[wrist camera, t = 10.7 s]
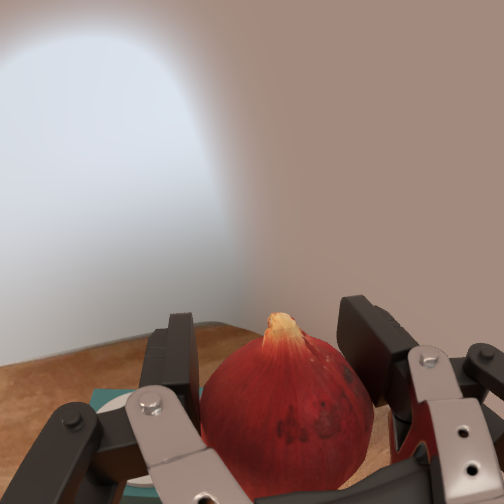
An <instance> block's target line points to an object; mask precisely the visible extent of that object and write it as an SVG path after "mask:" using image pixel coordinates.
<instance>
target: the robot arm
mask: <svg viewBox="0 0 504 504" xmlns="http://www.w3.org/2000/svg"><path fill="white" fill-rule="evenodd" d="M337 343H338V347H339V349H340V350H341V352H342V354H343V355H344V357H345V359H346V360H347V361H348V363H349V364H350V366H351V367H352V368H353V370H354V371H355V373H356V374H357V376H358V377H359V378H360V380H361V382H362V383H363V385H364V386H365V388H366V390H367V392H368V394H369V396H370V398H371V400H372V402H373V404H374V406H375V407H376V408H377V407H381V406H384V405H387V404H388V405H389V406H390V411H389V413H388V426H389V439H390V455H391V461H390V465H389V466H386V467H383V468H380V469H379V470H377V471H376V472H374V473H372V474H371V475H369V476H367V477H366V478H364V479H362V480H361V481H359V482H357V483H356V484H354V485H352V486H350V487H348V488H346V489H343V490H327V491H296V492H290V493H285V494H279V495H273V496H267V497H260V498H254V504H504V482H503V478H502V474H501V471H503V472H504V420H503V419H502V418H501V417H499V416H498V415H497V414H496V413H494V412H493V411H492V410H491V409H489V408H488V407H487V406H486V405H484V404H483V402H484V400H485V398H486V396H487V395H488V393H489V391H491V392H492V393H494V394H495V395H496V396H498V397H499V398H500V399H502V400H503V401H504V353H503V352H501V351H500V350H498V349H497V348H495V347H494V346H492V345H489V344H485V343H476V344H473V345H472V346H470V348H469V350H468V352H467V355H466V357H462V358H448V356H447V355H446V354H445V352H443V351H442V350H440V349H439V348H436V347H433V346H429V345H421V346H420V345H419V344H418V343H417V342H416V341H415V340H414V339H413V338H412V337H411V336H410V334H409V333H408V332H407V331H406V330H405V329H404V328H403V327H400V324H399V323H398V322H397V321H395V319H394V318H393V317H392V316H391V315H390V314H389V313H388V312H387V311H385V310H384V309H382V308H380V307H378V306H373V305H372V304H371V303H370V302H369V301H368V300H367V299H366V298H365V297H364V296H363V295H355V296H348V297H343V298H342V299H341V302H340V309H339V317H338V326H337ZM146 349H147V350H146V352H145V359H144V362H143V367H142V372H141V378H140V383H139V389H137V390H135V391H134V392H133V393H131V394H130V395H129V397H128V398H127V400H126V403H125V406H123V407H121V408H118V409H115V410H111V411H106V412H102V413H97V414H96V412H95V410H94V409H93V408H92V407H91V406H90V405H88V404H86V403H82V402H71V403H67V404H64V405H62V406H60V407H59V408H58V409H56V410H55V411H54V413H53V414H52V415H51V417H50V418H49V420H48V422H47V423H46V425H45V426H44V428H43V429H42V431H41V433H40V434H39V436H38V437H37V439H36V440H35V442H34V444H33V445H32V447H31V449H30V450H29V452H28V453H27V455H26V457H25V458H24V460H23V462H22V463H21V465H20V467H19V469H18V470H17V472H16V474H15V475H14V477H13V479H12V481H11V482H10V484H9V486H8V488H7V489H6V491H5V493H4V495H3V497H2V498H1V500H0V504H119V503H120V501H121V498H122V495H123V492H124V489H125V487H126V484H127V481H128V480H131V479H135V478H139V477H143V476H147V475H150V477H151V480H152V482H153V484H154V486H155V488H156V491H157V493H158V495H159V497H160V499H161V501H162V503H163V504H253V503H252V501H251V500H250V499H249V497H248V496H247V495H246V493H245V492H244V491H243V489H242V488H241V487H240V485H239V484H238V482H237V481H236V480H235V478H234V477H233V475H232V474H231V473H230V471H229V470H228V468H227V467H226V465H225V464H224V463H223V461H222V460H221V458H220V457H219V455H218V454H217V452H216V451H215V450H214V449H213V448H212V447H211V446H209V447H207V446H206V445H205V443H204V442H203V440H202V438H201V420H200V409H199V407H200V395H199V364H198V353H197V346H196V339H195V332H194V325H193V318H192V313H191V312H190V313H176V314H170V318H169V326H168V328H166V329H156V330H155V331H154V332H153V333H152V335H151V336H150V337H149V338H148V343H147V348H146Z"/></svg>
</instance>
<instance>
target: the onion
mask: <svg viewBox="0 0 504 504" xmlns="http://www.w3.org/2000/svg"><path fill="white" fill-rule="evenodd" d="M199 409H200V420H201V438H202V440H203V442H204V443H205V445H206V446H207V447H209V446H211V447H212V448H213V449H214V450H215V451H216V452H217V454H218V455H219V457H220V458H221V460H222V461H223V463H224V464H225V465H226V467H227V468H228V470H229V471H230V473H231V474H232V475H233V477H234V478H235V480H236V481H237V482H238V484H239V485H240V487H241V488H242V489H243V491H244V492H245V493H246V495H247V496H248V497H249V499H250V500H251V501H252V502H254V498H260V497H267V496H273V495H279V494H285V493H290V492H296V491H327V490H337V489H338V488H339V487H340V486H341V485H343V484H344V483H345V482H346V481H347V480H348V479H349V478H350V477H351V476H352V475H353V474H354V473H355V472H356V471H357V470H358V468H359V467H360V466H361V464H362V463H363V462H364V460H365V457H366V453H367V449H368V445H369V441H370V436H371V432H372V426H373V421H374V410H373V404H372V400H371V398H370V396H369V394H368V392H367V390H366V388H365V386H364V385H363V383H362V382H361V380H360V378H359V377H358V376H357V374H356V373H355V371H354V370H353V368H352V367H351V366H350V364H349V363H348V361H347V360H346V359H345V358H344V357H343V355H342V354H341V353H340V352H339V351H337V350H336V349H335V348H333V347H332V346H331V345H330V344H328V343H327V342H324V341H322V340H320V339H317V338H314V337H311V336H309V335H307V334H306V333H305V332H304V331H303V330H301V329H300V328H299V327H298V325H297V323H296V321H295V319H294V318H292V317H291V316H289V315H288V314H286V313H280V312H278V313H272V314H271V315H270V316H269V317H268V328H267V329H266V330H265V334H264V336H263V337H260V338H257V339H254V340H252V341H251V342H249V343H248V344H246V345H245V346H243V347H241V348H240V349H238V350H237V351H235V352H234V353H232V354H231V355H230V356H229V357H227V358H226V359H225V360H224V361H223V363H222V364H221V365H220V366H219V367H218V368H217V370H216V371H215V372H214V373H213V374H212V375H211V377H210V378H209V380H208V381H207V382H206V384H205V385H204V388H203V391H202V394H201V398H200V407H199Z"/></svg>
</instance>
